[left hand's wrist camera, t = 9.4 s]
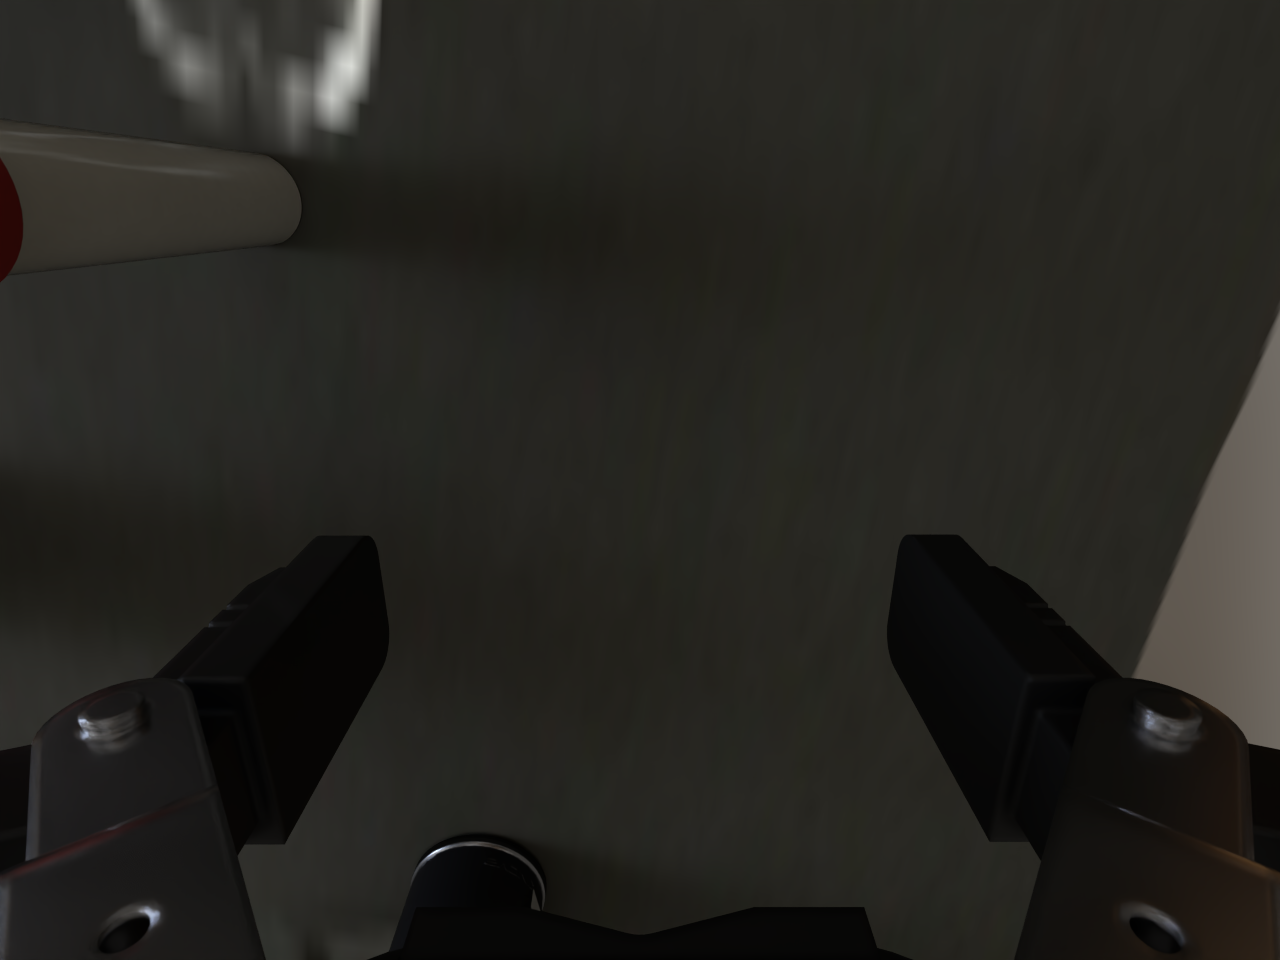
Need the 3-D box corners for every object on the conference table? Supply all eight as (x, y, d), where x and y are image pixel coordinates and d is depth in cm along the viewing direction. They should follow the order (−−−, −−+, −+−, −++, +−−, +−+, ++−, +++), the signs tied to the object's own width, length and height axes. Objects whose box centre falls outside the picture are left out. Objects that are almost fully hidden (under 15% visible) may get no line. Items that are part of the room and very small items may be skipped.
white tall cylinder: (198, 208, 35) (-268, 213, 17) (237, 131, 34) (-221, 50, 16) (277, 264, 36) (-86, 324, 18) (317, 191, 34) (-28, 177, 17)
